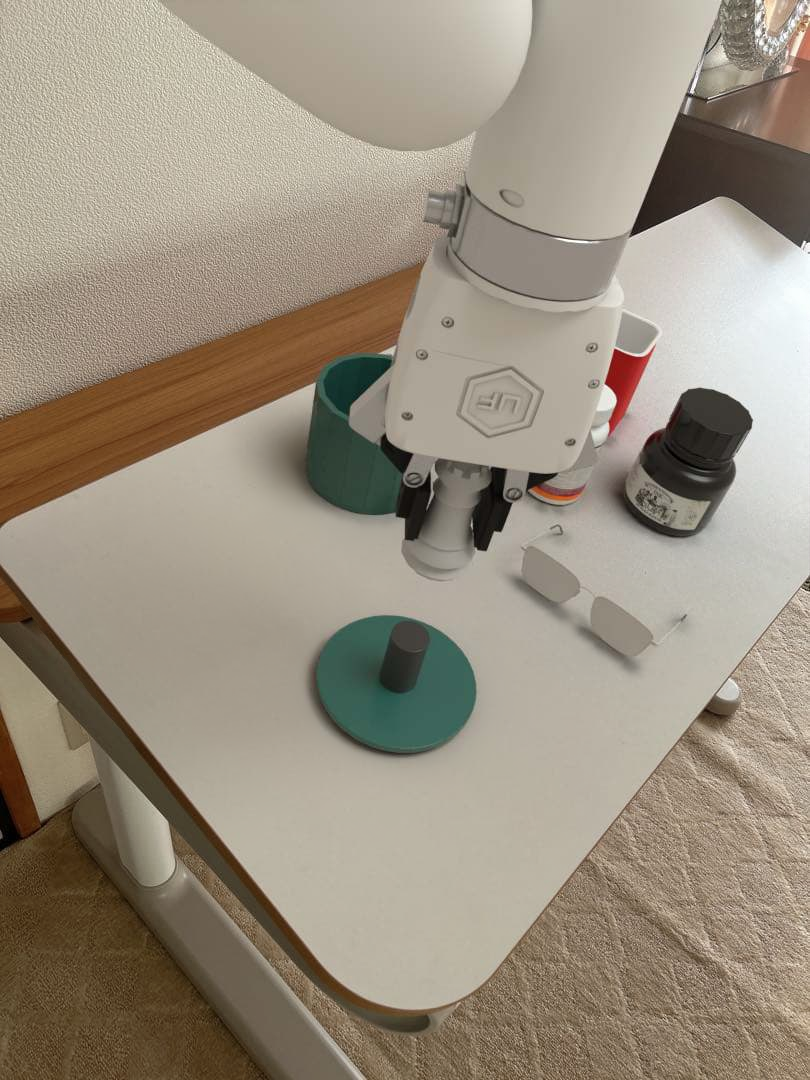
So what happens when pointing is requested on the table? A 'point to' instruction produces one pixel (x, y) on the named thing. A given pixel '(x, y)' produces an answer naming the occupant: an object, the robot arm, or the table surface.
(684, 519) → the ink bottle
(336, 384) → the canister
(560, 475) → the pill bottle
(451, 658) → the lid
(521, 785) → the table surface
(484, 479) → the rook chess piece
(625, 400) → the mug
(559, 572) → the eyeglasses
